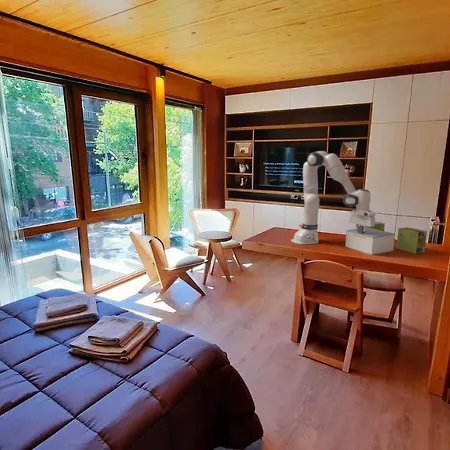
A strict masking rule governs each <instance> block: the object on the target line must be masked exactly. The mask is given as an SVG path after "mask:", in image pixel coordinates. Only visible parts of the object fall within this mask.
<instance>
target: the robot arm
mask: <svg viewBox="0 0 450 450" xmlns="http://www.w3.org/2000/svg"><path fill="white" fill-rule="evenodd" d="M319 167H325V168H326V170H327V172H328V174H329V175H330V177H331V179H333V181H337V182H339V183H340V184H341V185H342V187H344V190H345V191H346V194H345V195H344V196H343V198H342V202H343V204H344V205H345V207H356V208H355V209H354V210H351V211H350V216H349V223H351V224H355V229H356V230H357V228H358V226H362V225H363V226H364V229H362V231H363V232H366V229H367V227H374V226H375V221H376V217H375V216H376V212H374V211H373V210H371V208H370V207H371V206H370V205H371V204H370V203H371V192H370V190H368V189H366V188H360V189H356V188H355V185H354V184H353V182H352V180H351V179H350V177H349V175H348V173H347V171H346V169H345V167H344V165H343V163H342V161H341V160H340V158H339V156H338V155H337V154H336V153H329V152H328V151H326V150H318V151H313V152H311V153H309V154H308V155H307V159H306V161H305V162H304V163H303V168H302V182H303V201H304V209H303V220H302V221H303V222H302V224H301V223H300V224H298V225H299V226H298V227H300V229H299V230H297V231H296V232H295V233H294V236H293V238H291V239H290V241H291V243H295V244H297V245H311V244H319V237H318V235H319V234H318V229H319V223H318V220H319V219H318V218H319V209H320V197H319V194H318V193H319V192H318V191H319V182H318V181H319V179H318V178H319V177H318V170H319Z"/></svg>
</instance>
